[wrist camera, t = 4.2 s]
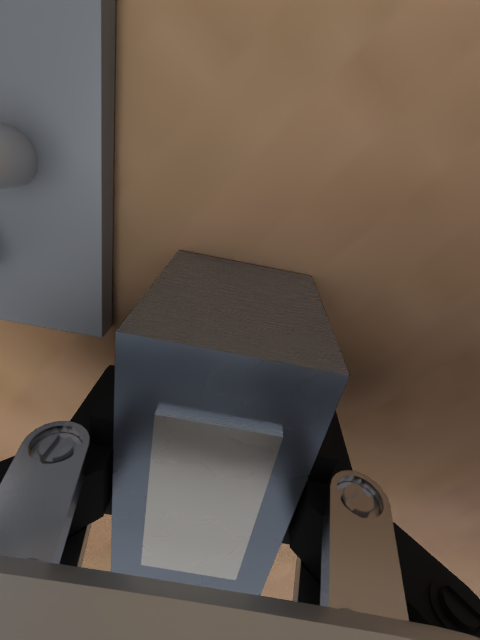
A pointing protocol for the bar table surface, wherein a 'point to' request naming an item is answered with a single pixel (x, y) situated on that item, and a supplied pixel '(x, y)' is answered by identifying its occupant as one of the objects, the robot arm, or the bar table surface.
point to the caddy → (57, 163)
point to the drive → (217, 420)
